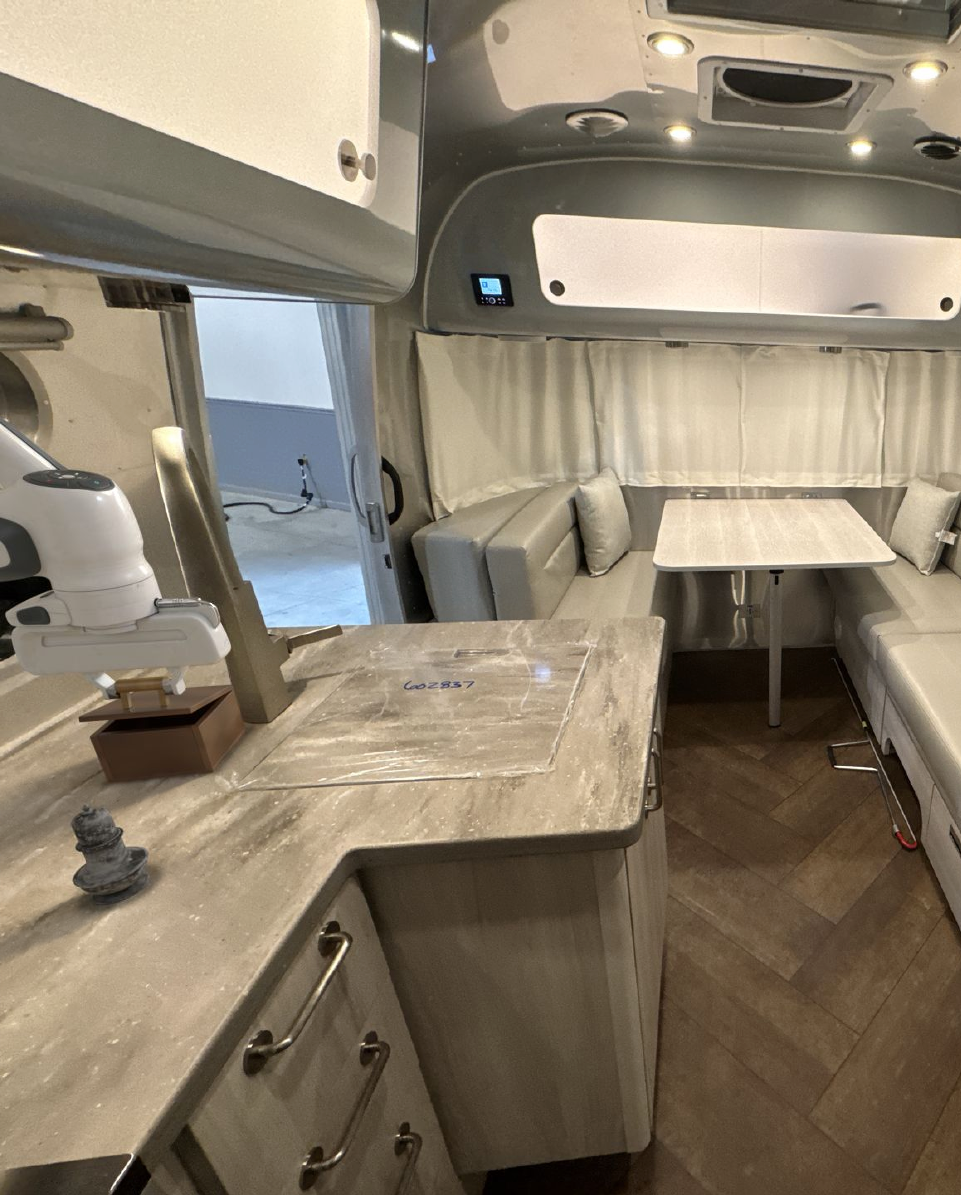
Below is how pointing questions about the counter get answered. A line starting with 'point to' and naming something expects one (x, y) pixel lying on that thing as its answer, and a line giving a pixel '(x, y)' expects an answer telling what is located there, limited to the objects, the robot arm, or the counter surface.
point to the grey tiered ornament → (107, 858)
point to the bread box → (169, 742)
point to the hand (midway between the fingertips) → (146, 695)
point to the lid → (153, 700)
